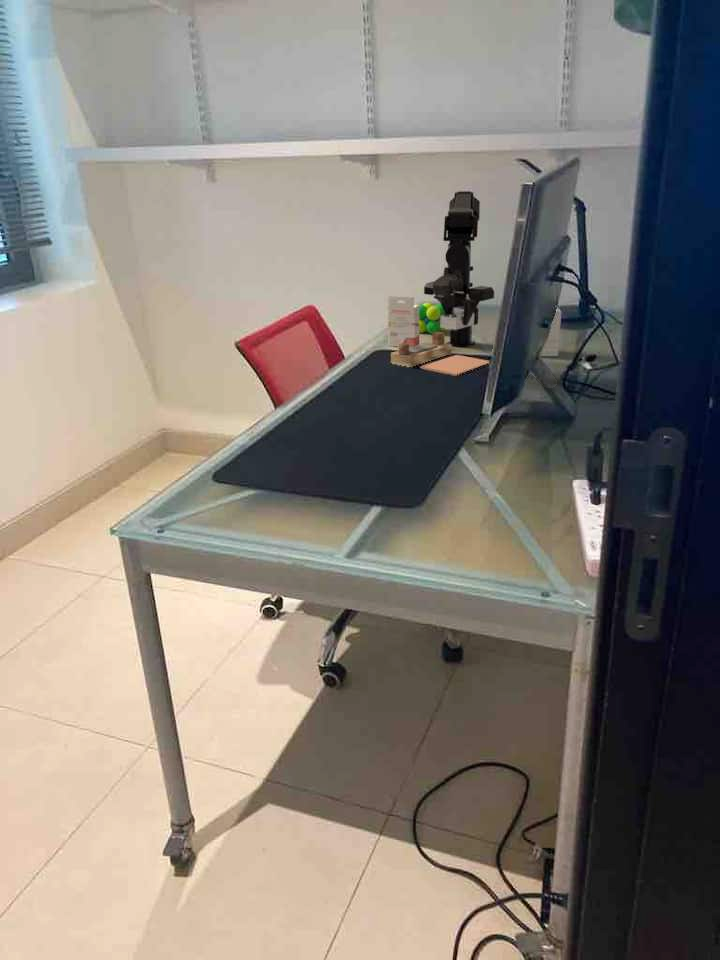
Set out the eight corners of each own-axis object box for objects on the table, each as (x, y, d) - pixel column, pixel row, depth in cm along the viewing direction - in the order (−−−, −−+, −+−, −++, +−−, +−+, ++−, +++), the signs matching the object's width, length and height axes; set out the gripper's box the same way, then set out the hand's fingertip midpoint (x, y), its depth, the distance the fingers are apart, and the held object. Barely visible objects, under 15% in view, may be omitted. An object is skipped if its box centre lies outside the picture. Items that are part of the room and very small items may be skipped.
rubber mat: (456, 356, 214) (456, 354, 214) (491, 363, 206) (492, 361, 206) (420, 368, 203) (420, 366, 203) (456, 376, 196) (456, 373, 195)
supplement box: (554, 350, 218) (558, 306, 213) (558, 357, 211) (562, 311, 206) (528, 350, 219) (531, 306, 214) (531, 357, 212) (534, 311, 207)
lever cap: (458, 322, 205) (459, 305, 203) (473, 324, 202) (474, 307, 200) (440, 327, 199) (440, 310, 198) (455, 329, 196) (456, 312, 194)
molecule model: (436, 336, 239) (448, 330, 245) (436, 307, 235) (449, 303, 242) (411, 333, 243) (424, 328, 250) (411, 305, 240) (424, 301, 246)
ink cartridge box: (419, 344, 229) (420, 294, 223) (414, 347, 225) (414, 297, 219) (393, 342, 232) (392, 293, 226) (387, 346, 228) (387, 296, 222)
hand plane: (431, 351, 221) (432, 330, 218) (451, 354, 216) (451, 333, 214) (390, 363, 209) (390, 342, 206) (410, 367, 204) (410, 345, 202)
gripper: (410, 263, 195) (410, 324, 201) (470, 269, 183) (468, 334, 189) (437, 259, 202) (436, 317, 208) (496, 264, 190) (493, 326, 196)
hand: (457, 324), depth 200 cm, fingers closed on lever cap, 5 cm apart
